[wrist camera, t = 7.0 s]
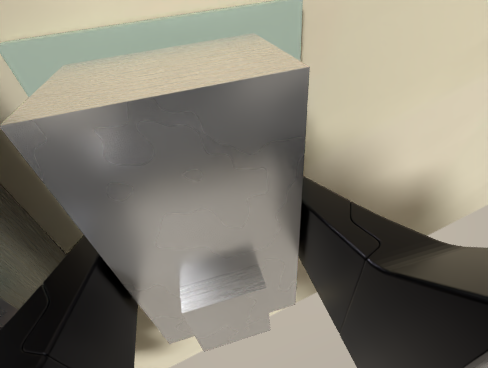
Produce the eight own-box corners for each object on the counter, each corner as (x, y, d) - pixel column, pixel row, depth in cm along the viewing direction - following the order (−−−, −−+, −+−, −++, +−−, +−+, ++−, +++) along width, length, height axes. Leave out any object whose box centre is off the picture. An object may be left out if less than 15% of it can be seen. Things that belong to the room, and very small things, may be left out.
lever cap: (267, 237, 13) (303, 325, 10) (167, 264, 12) (170, 368, 9) (254, 33, 7) (333, 81, 4) (63, 64, 7) (-31, 153, 3)
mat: (291, 207, 15) (294, 213, 15) (133, 248, 14) (132, 256, 14) (296, -3, 9) (302, -2, 8) (3, 41, 7) (-6, 45, 7)
